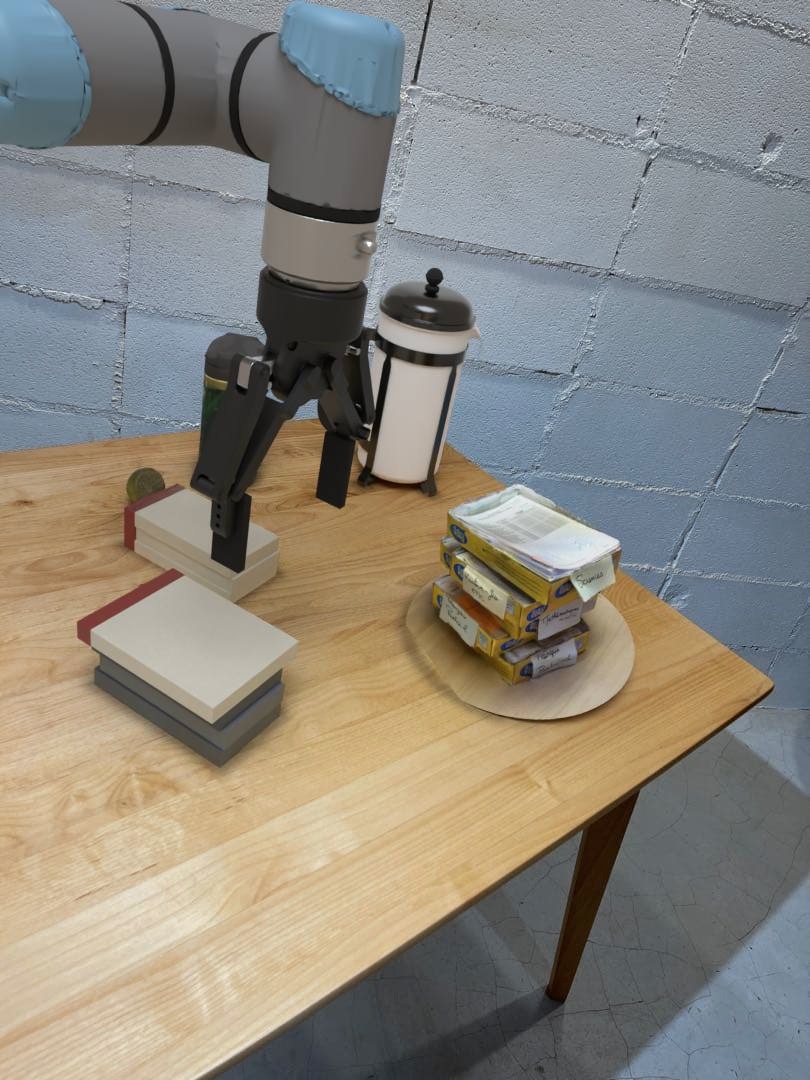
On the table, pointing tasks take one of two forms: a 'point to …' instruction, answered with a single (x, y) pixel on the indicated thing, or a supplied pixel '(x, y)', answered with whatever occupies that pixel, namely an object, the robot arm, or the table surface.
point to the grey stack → (185, 724)
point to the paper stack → (524, 609)
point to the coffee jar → (222, 374)
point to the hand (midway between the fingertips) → (282, 531)
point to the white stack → (195, 542)
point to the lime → (144, 484)
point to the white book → (189, 643)
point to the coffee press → (414, 379)
